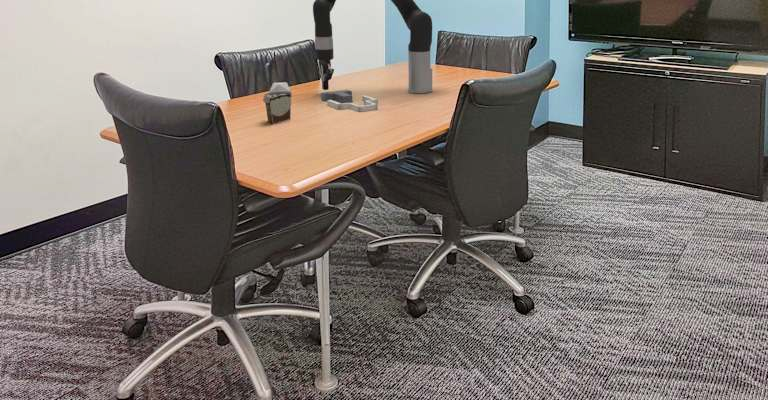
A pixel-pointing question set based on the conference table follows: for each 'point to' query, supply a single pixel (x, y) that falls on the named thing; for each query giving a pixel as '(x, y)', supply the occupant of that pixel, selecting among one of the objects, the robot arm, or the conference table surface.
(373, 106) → the t dock
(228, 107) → the conference table surface
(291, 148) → the conference table surface
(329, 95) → the t block
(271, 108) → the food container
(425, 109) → the conference table surface
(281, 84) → the grey rounded block
